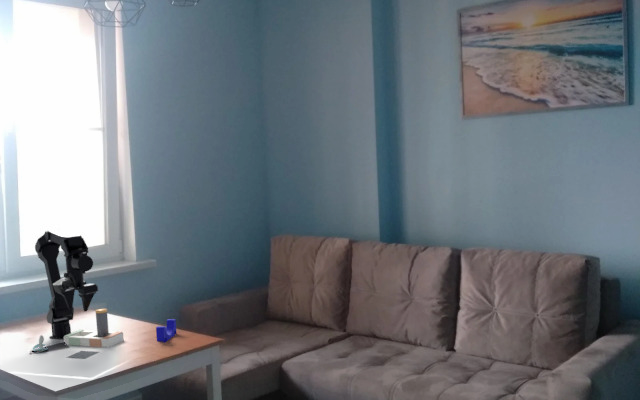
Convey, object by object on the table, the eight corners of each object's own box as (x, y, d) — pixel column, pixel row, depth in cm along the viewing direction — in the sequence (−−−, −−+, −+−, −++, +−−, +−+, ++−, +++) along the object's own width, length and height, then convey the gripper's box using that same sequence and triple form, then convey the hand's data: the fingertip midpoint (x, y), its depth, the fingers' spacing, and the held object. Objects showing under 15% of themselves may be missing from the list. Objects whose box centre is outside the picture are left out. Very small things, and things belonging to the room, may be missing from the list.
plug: (96, 346, 248) (94, 311, 247) (99, 343, 252) (97, 309, 251) (107, 345, 248) (105, 310, 247) (110, 342, 252) (108, 308, 252)
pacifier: (31, 357, 240) (49, 353, 243) (29, 340, 239) (47, 336, 242) (28, 352, 246) (45, 348, 249) (26, 335, 245) (43, 332, 248)
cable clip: (165, 334, 261) (164, 319, 260) (176, 334, 260) (175, 319, 260) (153, 343, 249) (152, 327, 248) (164, 343, 248) (163, 327, 248)
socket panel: (63, 346, 251) (62, 336, 251) (80, 339, 260) (79, 329, 259) (107, 348, 244) (107, 338, 244) (123, 341, 253) (122, 331, 252)
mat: (66, 359, 234) (65, 357, 233) (81, 352, 241) (81, 350, 241) (84, 360, 231) (84, 358, 231) (99, 353, 238) (99, 351, 238)
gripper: (40, 271, 249) (43, 312, 250) (71, 274, 238) (74, 317, 239) (66, 266, 258) (69, 306, 259) (97, 268, 248) (100, 310, 249)
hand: (77, 310), depth 251 cm, fingers open, 9 cm apart
